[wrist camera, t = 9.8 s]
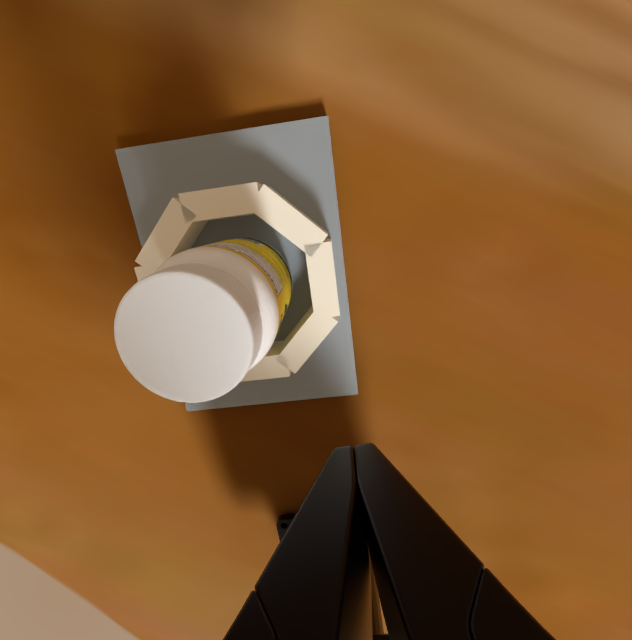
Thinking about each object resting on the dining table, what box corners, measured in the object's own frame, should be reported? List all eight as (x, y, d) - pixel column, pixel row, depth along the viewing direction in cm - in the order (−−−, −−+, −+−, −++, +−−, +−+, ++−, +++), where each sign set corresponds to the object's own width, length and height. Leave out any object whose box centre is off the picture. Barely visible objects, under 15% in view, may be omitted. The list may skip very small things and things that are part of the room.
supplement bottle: (247, 344, 19) (185, 444, 10) (183, 279, 18) (61, 334, 10) (313, 287, 17) (301, 349, 9) (249, 215, 17) (174, 215, 8)
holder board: (356, 387, 20) (361, 414, 17) (192, 404, 21) (172, 432, 18) (327, 120, 16) (328, 101, 13) (124, 152, 17) (85, 140, 14)
